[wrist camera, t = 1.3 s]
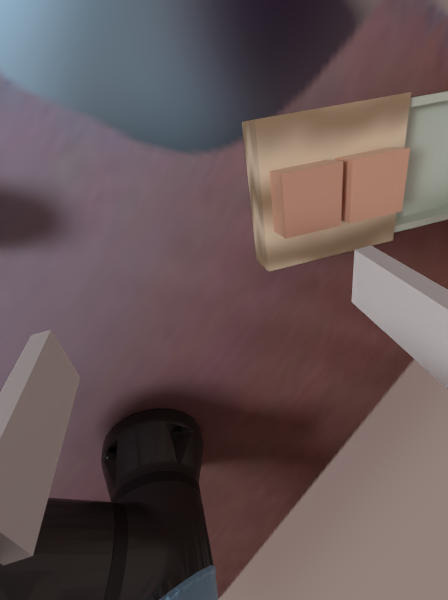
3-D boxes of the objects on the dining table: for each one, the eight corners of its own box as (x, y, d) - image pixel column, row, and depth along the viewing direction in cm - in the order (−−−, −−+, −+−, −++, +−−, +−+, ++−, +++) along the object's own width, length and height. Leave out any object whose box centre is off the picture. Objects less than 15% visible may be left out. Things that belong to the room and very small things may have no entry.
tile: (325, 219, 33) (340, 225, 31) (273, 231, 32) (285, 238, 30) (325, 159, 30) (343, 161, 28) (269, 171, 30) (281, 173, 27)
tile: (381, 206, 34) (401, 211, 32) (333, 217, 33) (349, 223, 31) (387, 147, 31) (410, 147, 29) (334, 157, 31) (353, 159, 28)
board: (371, 231, 40) (392, 240, 37) (256, 259, 38) (268, 271, 35) (382, 97, 33) (411, 92, 29) (241, 121, 31) (254, 119, 27)
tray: (449, 209, 42) (470, 213, 39) (371, 228, 40) (387, 234, 37) (475, 86, 35) (502, 81, 32) (382, 102, 33) (402, 99, 31)
